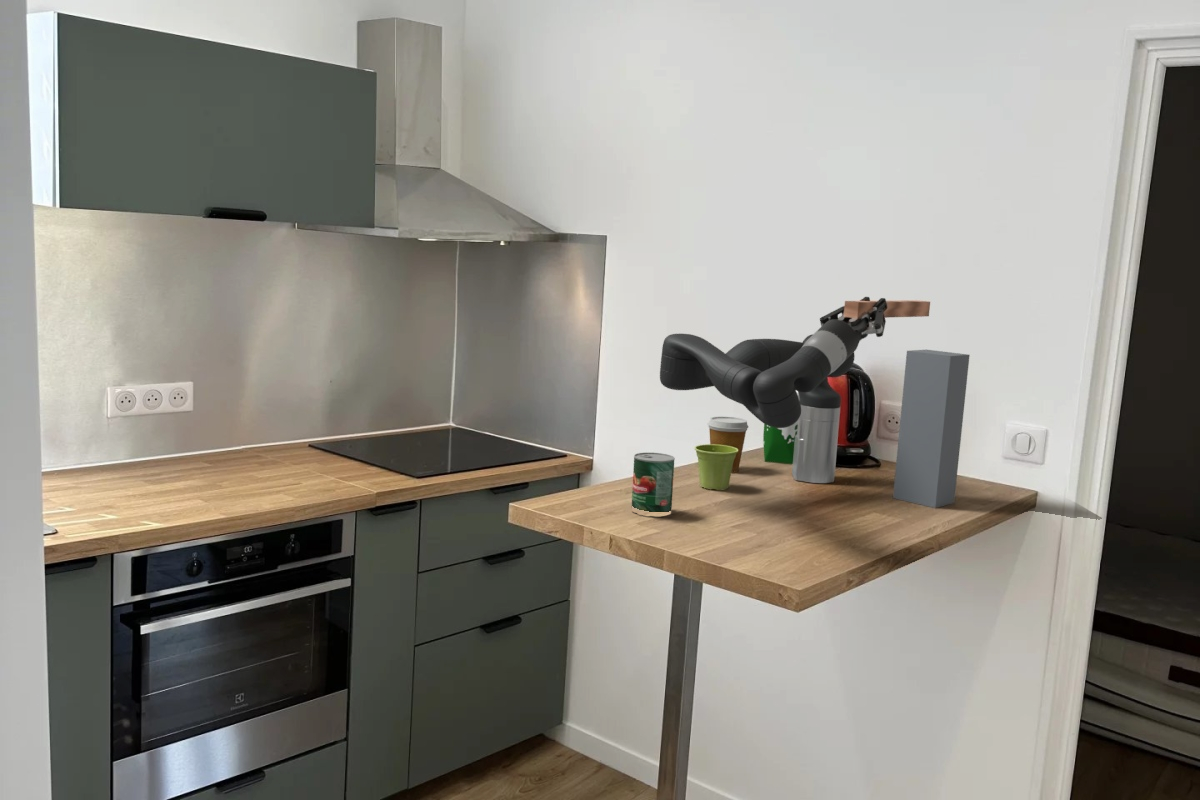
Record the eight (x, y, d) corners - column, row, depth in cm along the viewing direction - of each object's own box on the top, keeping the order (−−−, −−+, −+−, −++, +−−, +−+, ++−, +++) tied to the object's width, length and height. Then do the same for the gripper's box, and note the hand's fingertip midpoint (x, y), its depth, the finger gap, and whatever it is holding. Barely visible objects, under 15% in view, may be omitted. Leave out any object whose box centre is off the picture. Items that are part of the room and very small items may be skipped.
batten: (857, 318, 193) (858, 302, 192) (843, 316, 195) (844, 301, 194) (928, 316, 210) (930, 301, 210) (915, 315, 212) (916, 300, 212)
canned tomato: (678, 511, 203) (681, 456, 202) (661, 519, 196) (664, 462, 195) (641, 504, 207) (644, 450, 205) (623, 512, 200) (626, 456, 198)
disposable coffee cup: (748, 468, 247) (752, 418, 245) (740, 476, 238) (744, 424, 236) (709, 463, 250) (713, 414, 248) (700, 471, 241) (703, 420, 239)
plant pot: (714, 494, 218) (716, 454, 217) (683, 485, 226) (685, 446, 224) (744, 489, 224) (747, 450, 223) (713, 480, 231) (716, 442, 230)
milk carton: (762, 455, 263) (768, 377, 260) (798, 458, 261) (804, 380, 258) (760, 462, 255) (766, 381, 252) (798, 465, 253) (804, 384, 250)
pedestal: (935, 508, 216) (950, 356, 212) (892, 497, 224) (906, 350, 219) (954, 502, 222) (969, 354, 217) (912, 493, 229) (926, 349, 224)
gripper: (856, 335, 183) (905, 286, 192) (791, 327, 193) (841, 282, 202) (865, 370, 187) (912, 321, 196) (801, 361, 197) (849, 315, 206)
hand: (876, 301), depth 199 cm, fingers closed on batten, 3 cm apart
